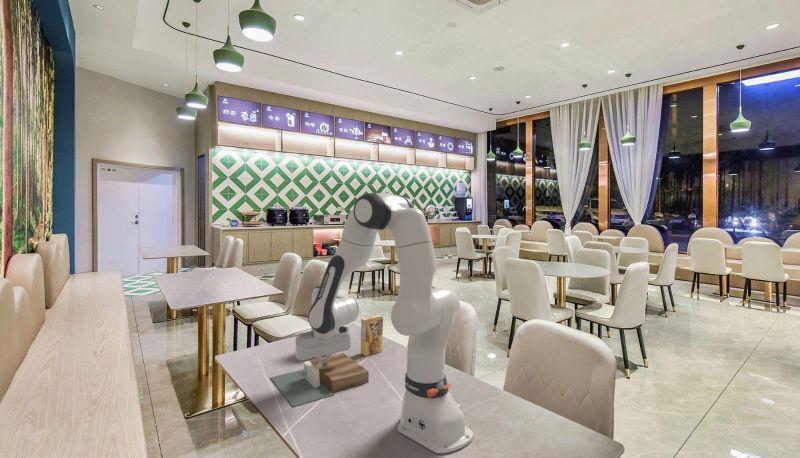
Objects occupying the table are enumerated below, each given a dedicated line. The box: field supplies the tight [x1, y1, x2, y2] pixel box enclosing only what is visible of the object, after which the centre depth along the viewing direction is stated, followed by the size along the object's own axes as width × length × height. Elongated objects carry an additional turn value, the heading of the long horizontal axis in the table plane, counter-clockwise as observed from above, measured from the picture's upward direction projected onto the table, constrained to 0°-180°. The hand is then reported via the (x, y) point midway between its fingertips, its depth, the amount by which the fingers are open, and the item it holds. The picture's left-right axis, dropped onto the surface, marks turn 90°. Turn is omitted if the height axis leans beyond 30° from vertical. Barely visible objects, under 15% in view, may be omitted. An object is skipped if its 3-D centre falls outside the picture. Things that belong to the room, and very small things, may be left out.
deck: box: [309, 352, 370, 393], centre depth 145 cm, size 20×14×4 cm
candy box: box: [360, 314, 384, 357], centre depth 168 cm, size 9×4×15 cm, turn 129°
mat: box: [269, 368, 335, 408], centre depth 137 cm, size 24×14×1 cm, turn 35°
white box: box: [303, 360, 320, 388], centre depth 139 cm, size 9×6×2 cm
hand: (323, 366), depth 141 cm, fingers closed
